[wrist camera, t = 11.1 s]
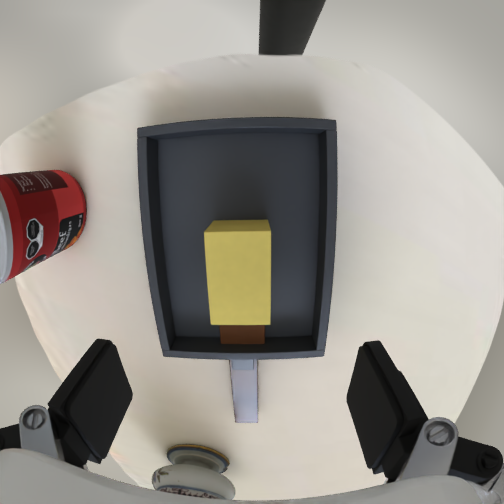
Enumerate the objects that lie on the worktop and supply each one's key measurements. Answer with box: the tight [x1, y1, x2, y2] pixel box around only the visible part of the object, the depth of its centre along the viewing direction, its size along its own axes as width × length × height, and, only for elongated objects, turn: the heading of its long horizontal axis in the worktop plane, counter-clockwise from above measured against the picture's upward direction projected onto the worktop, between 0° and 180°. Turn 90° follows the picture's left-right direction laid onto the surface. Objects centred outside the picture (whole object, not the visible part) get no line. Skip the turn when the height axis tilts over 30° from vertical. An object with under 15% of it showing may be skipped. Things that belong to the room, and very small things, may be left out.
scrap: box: [219, 325, 265, 344], centre depth 24 cm, size 4×4×1 cm
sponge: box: [204, 220, 271, 325], centre depth 21 cm, size 7×4×4 cm, turn 1°
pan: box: [137, 117, 337, 360], centre depth 22 cm, size 20×15×3 cm
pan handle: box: [229, 360, 258, 423], centre depth 26 cm, size 11×3×3 cm, turn 1°
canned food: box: [0, 170, 86, 284], centre depth 17 cm, size 8×8×11 cm
